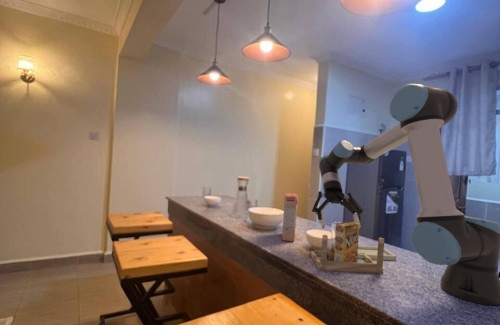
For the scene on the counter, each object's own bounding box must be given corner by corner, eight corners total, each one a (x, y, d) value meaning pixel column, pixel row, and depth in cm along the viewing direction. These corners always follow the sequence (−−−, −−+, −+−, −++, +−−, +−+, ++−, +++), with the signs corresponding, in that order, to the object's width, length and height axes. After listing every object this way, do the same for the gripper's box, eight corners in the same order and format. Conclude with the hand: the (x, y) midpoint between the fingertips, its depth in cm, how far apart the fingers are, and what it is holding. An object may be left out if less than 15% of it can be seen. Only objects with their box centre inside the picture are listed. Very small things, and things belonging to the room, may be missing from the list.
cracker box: (294, 242, 127) (297, 196, 127) (281, 241, 128) (284, 195, 128) (295, 234, 141) (298, 193, 140) (283, 233, 142) (286, 192, 141)
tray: (396, 260, 110) (396, 256, 110) (357, 258, 110) (357, 254, 110) (382, 250, 122) (382, 246, 122) (346, 248, 121) (346, 245, 121)
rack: (383, 273, 96) (385, 239, 96) (320, 270, 96) (322, 235, 96) (363, 257, 112) (365, 227, 112) (310, 254, 112) (311, 224, 112)
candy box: (342, 269, 98) (345, 225, 98) (332, 264, 102) (335, 223, 101) (357, 264, 103) (360, 223, 103) (347, 260, 107) (350, 221, 107)
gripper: (357, 191, 125) (369, 234, 111) (302, 188, 125) (307, 230, 110) (362, 181, 120) (376, 224, 105) (305, 177, 120) (311, 220, 105)
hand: (341, 227), depth 108 cm, fingers open, 13 cm apart
